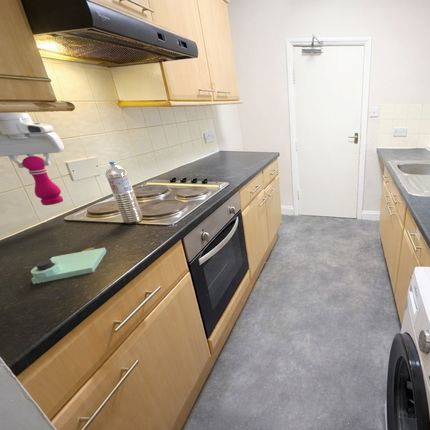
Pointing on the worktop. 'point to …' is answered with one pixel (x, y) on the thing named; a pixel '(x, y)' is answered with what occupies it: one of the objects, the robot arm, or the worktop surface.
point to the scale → (69, 265)
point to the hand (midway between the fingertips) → (36, 166)
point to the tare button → (44, 265)
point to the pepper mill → (42, 181)
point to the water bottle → (123, 194)
